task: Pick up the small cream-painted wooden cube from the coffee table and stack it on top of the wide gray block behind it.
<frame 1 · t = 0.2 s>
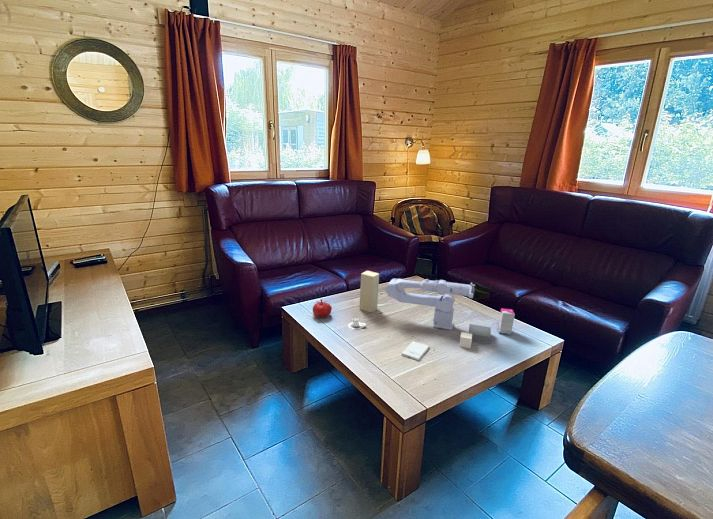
hand: (489, 293, 183), 21 cm above the table, tool horizontal, fingers open, 7 cm apart
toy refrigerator: (368, 309, 212), on the table
pomegranate: (322, 315, 203), on the table
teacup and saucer: (357, 329, 190), on the table
gray block: (478, 337, 185), on the table
supplement box: (504, 332, 191), on the table
external hard drive: (415, 352, 171), on the table
cream cube: (465, 344, 178), on the table
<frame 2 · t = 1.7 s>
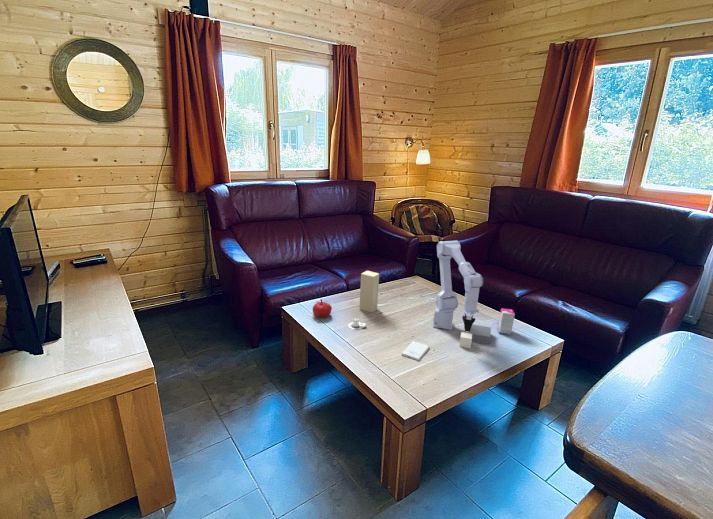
hand: (467, 327, 175), 9 cm above the table, tool pointing down, fingers open, 7 cm apart
nothing on the table moved.
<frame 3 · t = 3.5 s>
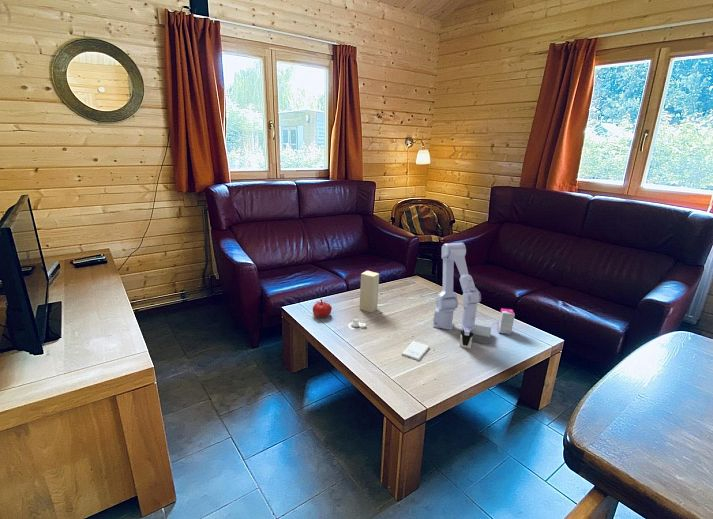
hand: (465, 342, 177), 1 cm above the table, tool pointing down, fingers closed on cream cube, 5 cm apart
cream cube: (465, 344, 178), on the table, touching gripper
everything else where it was.
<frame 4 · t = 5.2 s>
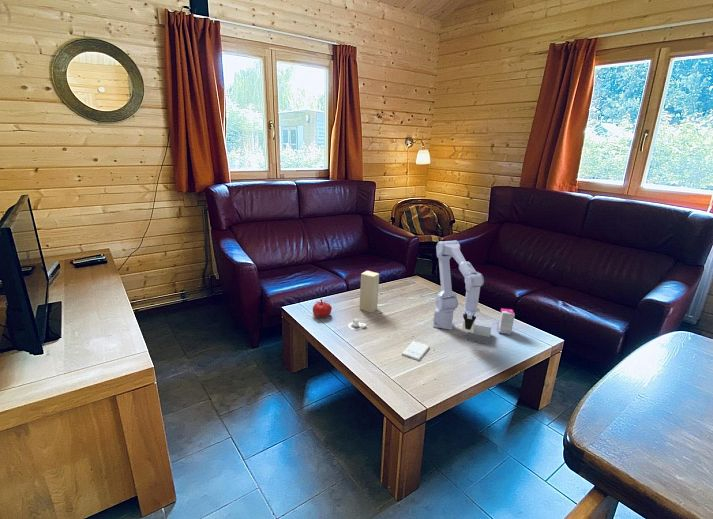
hand: (468, 326, 175), 9 cm above the table, tool pointing down, fingers closed on cream cube, 5 cm apart
cream cube: (467, 329, 176), point 8 cm above the table, touching gripper
everything else where it was.
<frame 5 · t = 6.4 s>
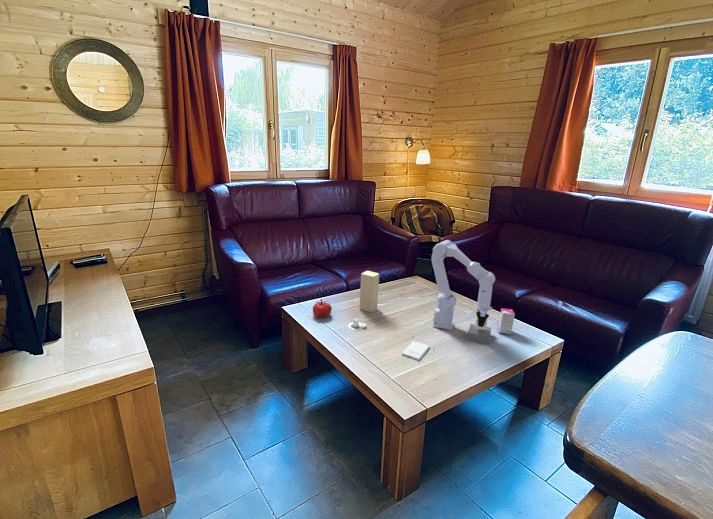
hand: (480, 323, 183), 7 cm above the table, tool pointing down, fingers closed on cream cube, 5 cm apart
cream cube: (480, 326, 183), point 6 cm above the table, touching gripper
everything else where it was.
when the fingers open (7 cm above the table, at t = 7.3 s): cream cube drops 2 cm, resting on gray block.
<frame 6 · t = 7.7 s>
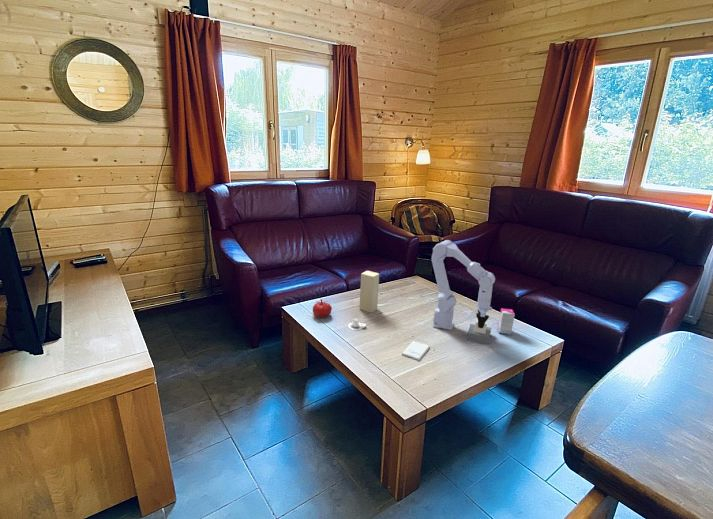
hand: (480, 324, 183), 7 cm above the table, tool pointing down, fingers open, 7 cm apart
gray block: (478, 337, 185), on the table, touching cream cube
cream cube: (480, 330, 184), point 4 cm above the table, touching gray block
everything else where it was.
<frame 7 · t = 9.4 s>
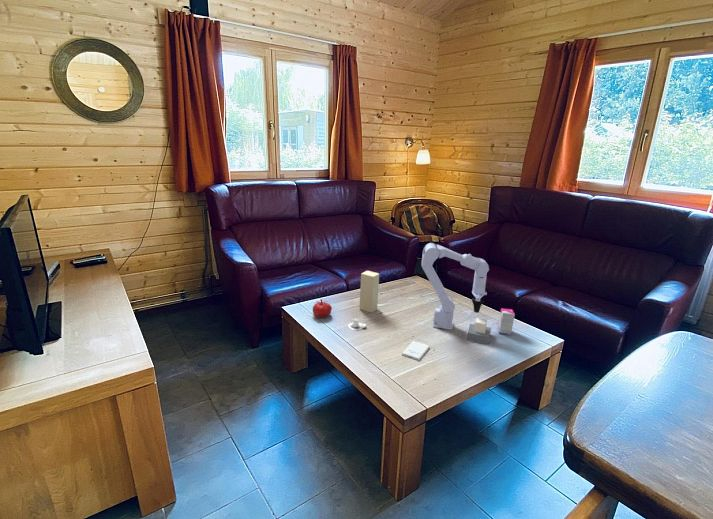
hand: (476, 309, 191), 10 cm above the table, tool pointing down, fingers open, 7 cm apart
nothing on the table moved.
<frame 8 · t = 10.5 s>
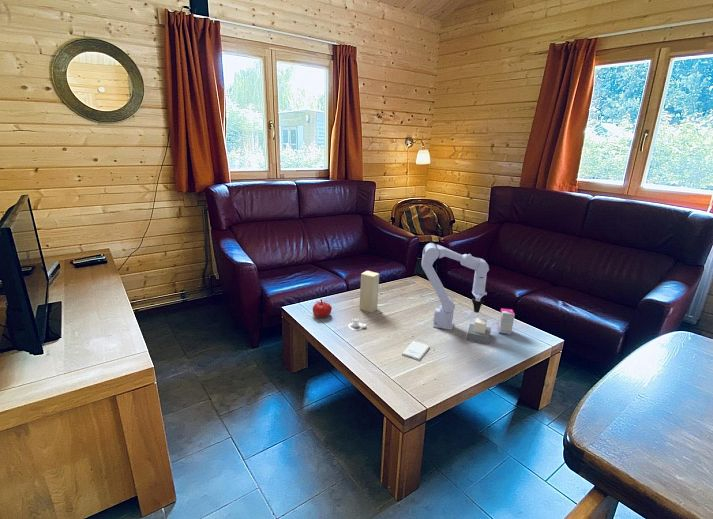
hand: (476, 309, 191), 10 cm above the table, tool pointing down, fingers open, 7 cm apart
gray block: (478, 337, 185), on the table
cream cube: (479, 330, 184), point 4 cm above the table
everything else where it was.
at the end: cream cube 0.2 cm off-centre on the gray block, point 4.0 cm above the gray block's base; cream cube tilted 1°; the gripper is holding nothing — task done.
